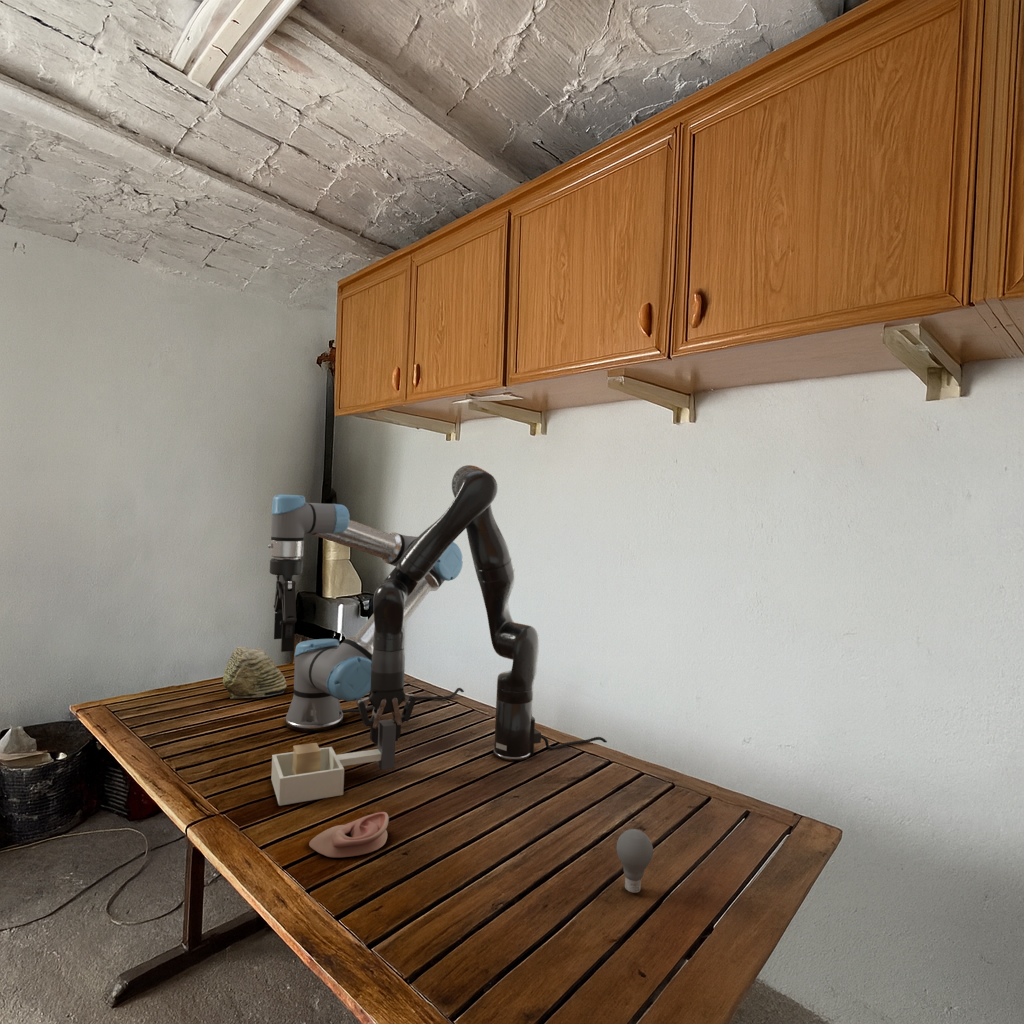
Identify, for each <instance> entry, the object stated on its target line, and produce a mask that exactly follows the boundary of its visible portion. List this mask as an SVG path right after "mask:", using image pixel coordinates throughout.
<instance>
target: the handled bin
mask: <svg viewBox="0 0 1024 1024" xmlns="http://www.w3.org/2000/svg"><path fill="white" fill-rule="evenodd" d="M395 740H396V724H395V723H394V720H393V719H391V718H390V719H389V718H388V719H382V720H381V719H380V721H379V724H378V744H377V748H375V749H368V750H361V751H353V752H346V753H339V754H336V752H335V750H334V748H333V746H328V747H319V748H320V750H321V762H320V771H317V772H311V773H304V774H298V775H292V768H293V751H291V752H283V753H276V754H272V755H271V777H270V778H271V779H270V780H271V784H272V787H273V791H274V794H275V797H276V801H277V804H278V806H279V807H281V806H286V805H292V804H297V803H303V802H309V801H315V800H316V801H317V800H321V799H327V798H332V797H338V796H344V788H345V787H344V785H345V768H344V767H347V766H354V765H361V764H368V763H373V762H376V765H377V766H378V767H379V769H380V770H381V771H384V770H390V769H395V765H396V764H395V763H396V762H395V760H396V741H395Z"/></svg>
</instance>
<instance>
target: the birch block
mask: <svg viewBox="0 0 1024 1024" xmlns="http://www.w3.org/2000/svg"><path fill="white" fill-rule="evenodd" d="M320 748H321V747H320V745H319V744H318V742H312V743H304V744H296V745H293V747H292V752H293V768H292V775H298V774H304V773H311V772H317V771H320V762H321V750H320Z"/></svg>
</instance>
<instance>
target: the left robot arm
mask: <svg viewBox="0 0 1024 1024" xmlns="http://www.w3.org/2000/svg"><path fill="white" fill-rule="evenodd" d="M270 514H271V525H270V526H271V527H270V528H271V529H270V540H271V541H270V543H268V544H267V548H269V549H270V556H271V557H272V558H271V559H270V560H269V573H270V575H273V576H276V582H275V594H274V604H273V609H274V622H273V623H274V625H273V627H274V628H273V639H274V640H280V641H281V643H280V652H281V653H286V652H294V655H293V657H294V672H293V695H292V696H293V697H292V699H291V702H290V704H289V708H288V711H287V713H286V715H285V726H286V728H287V729H289V730H291V731H294V732H295V731H296V732H301V733H316V732H325V731H329V730H332V729H335V728H337V727H339V726H340V725H342V723H343V722H344V714H349V713H360V712H359V709H358V708H349V709H342V706H341V702H340V701H341V700H342V701H345V702H355V701H357V700H358V699H361V700H362V699H363V698H364V697H365V696H368V695H369V693H370V691H371V662H372V654H373V643H374V628H375V624H374V612H373V613H372V614H371V616H370V617H369V618H368V619H367V620H366V621H365V623H364V624H363V625H362V626H361V628H360V629H359V630H358V632H357V633H356V634H355V635H354V636H352V637H346V638H344V640H343V641H342V642H341V643H340V641H339V639H337V638H319V639H308V640H303V641H300V642H299V643H298V642H297V644H296V646H295V629H296V627H295V626H296V625H295V624H296V623H297V620H298V619H297V604H296V601H297V600H296V585H297V582H296V580H294V579H293V578H294V577H293V576H299V575H302V573H303V567H304V565H303V564H304V563H303V561H304V560H303V559H302V557H304V544H305V540H304V539H305V538H304V537H305V534H308V535H311V536H315V537H317V538H321V539H324V540H327V541H329V542H333V543H336V544H339V545H341V546H344V547H348V548H351V549H354V550H357V551H360V552H362V553H366V554H368V555H372V556H375V557H378V558H380V560H381V561H382V562H383V563H385V564H388V565H390V566H394V567H396V566H397V565H398V563H399V561H400V559H401V558H402V556H403V555H404V554H405V552H406V551H407V550H408V548H409V547H410V546H411V545H412V543H413V542H414V541H415V540H416V539H417V538H418V537H419V536H412V535H405V534H402V533H401V534H400V533H397V532H394V531H393V532H391V533H389V532H385V531H383V530H380V529H378V528H374V527H372V526H369V525H366V524H364V523H361V522H359V521H355V520H352V519H350V518H351V516H350V512H349V509H348V507H347V506H345V505H344V504H339V503H321V502H320V503H318V502H306V497H305V496H304V495H300V494H275V495H274V496H273V498H272V503H271V512H270ZM463 563H464V562H463V553H462V550H461V548H460V547H459V545H458V544H457V543H455V542H454V541H453V542H452V543H451V545H450V546H449V547H448V548H447V549H446V551H445V552H444V553H443V554H442V556H441V557H440V558H439V559H438V561H437V562H436V563H435V565H434V566H433V567H432V569H431V570H430V571H429V572H428V574H427V575H426V576H425V577H424V578H423V579H422V580H421V581H420V582H419V583H418V584H417V586H416V587H415V589H414V590H413V591H412V593H411V594H410V596H409V597H408V598H407V600H406V601H405V605H404V619H403V625H404V626H405V624H406V623H407V621H408V620H409V619H410V617H411V616H412V615H413V613H414V612H415V611H416V610H417V608H418V607H419V606H420V605H421V603H422V602H423V601H424V600H425V598H426V597H427V596H428V594H429V593H430V592H436V591H438V590H439V589H440V587H441V586H442V585H443V584H444V583H445V581H446V582H447V581H448V582H449V581H454V580H455V579H456V578H457V577H458V576H459V575H460V573H461V571H462V568H463ZM458 692H460V693H464V692H465V690H464V689H463V688H462V687H457V688H456V689H455V691H454V692H453V693H451V694H449V695H446V696H415V697H416V701H417V700H419V701H420V700H422V701H423V700H430V701H431V700H434V701H435V700H436V701H438V700H439V701H441V700H443V701H444V700H449V699H452V698H454V697H455V696H456V695H458ZM403 701H405V698H404V699H403ZM373 708H374V706H373V705H371V706H368V708H367V709H366V711H367V712H369V711H373Z"/></svg>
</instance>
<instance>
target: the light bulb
mask: <svg viewBox="0 0 1024 1024" xmlns="http://www.w3.org/2000/svg"><path fill="white" fill-rule="evenodd" d="M615 849H616V854H617V857H618V859H619V861H620V863H621V865H622V867H623V873H624V874H623V875H624V876H625V878H624V888H625V890H627V891H628V892H630V893H634V894H635V893H639V892H640V891H641V889H642V887H641V886H642V879H643V877H644V875H645V871H646V868H647V867H648V866H649V864H650V863H651V861H652V859H653V855H654V847H653V843H652V841H651V838H649V836H648V835H647V834H646V833H645V832H643V831H642V830H641V829H636V828H629V829H627V830H625V831H623V832H622V833H621V834H620V835H619V837H618V839H617V841H616V847H615Z"/></svg>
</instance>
